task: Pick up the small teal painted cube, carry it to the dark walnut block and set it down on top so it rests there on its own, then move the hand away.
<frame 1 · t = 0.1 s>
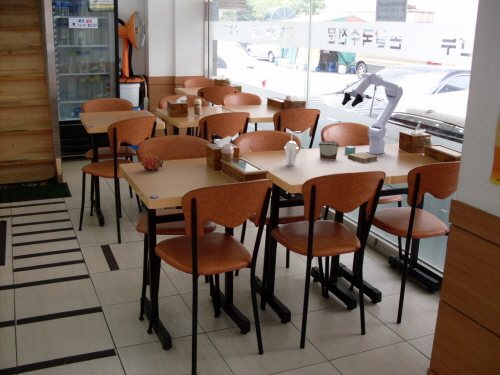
hand: (347, 105, 316), 32 cm above the table, tool tilted 50°, fingers open, 7 cm apart
dragon fruit: (152, 170, 289), on the table
walnut block: (362, 160, 323), on the table
food container: (327, 158, 324), on the table
cup with straw: (290, 165, 306), on the table
teal cube: (349, 154, 336), on the table
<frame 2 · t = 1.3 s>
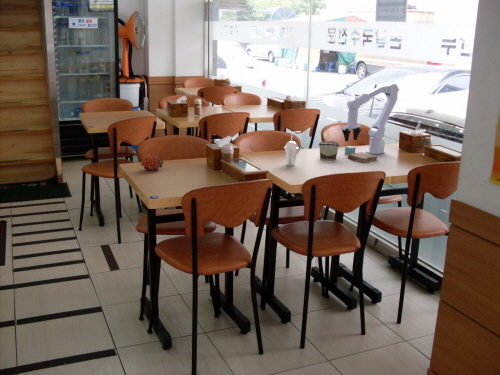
hand: (350, 140, 334), 8 cm above the table, tool pointing down, fingers open, 7 cm apart
nothing on the table moved.
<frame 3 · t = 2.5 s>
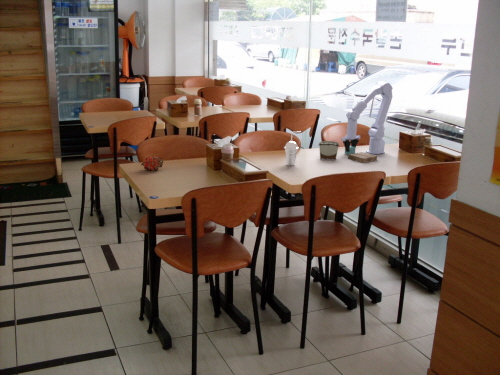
hand: (350, 151, 336), 2 cm above the table, tool pointing down, fingers closed on teal cube, 4 cm apart
teal cube: (349, 153, 336), on the table, touching gripper
everything else where it was.
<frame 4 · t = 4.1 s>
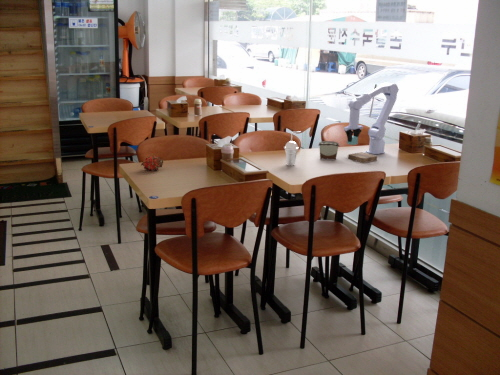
hand: (352, 141, 332), 8 cm above the table, tool pointing down, fingers closed on teal cube, 4 cm apart
teal cube: (352, 143, 333), point 7 cm above the table, touching gripper
everything else where it was.
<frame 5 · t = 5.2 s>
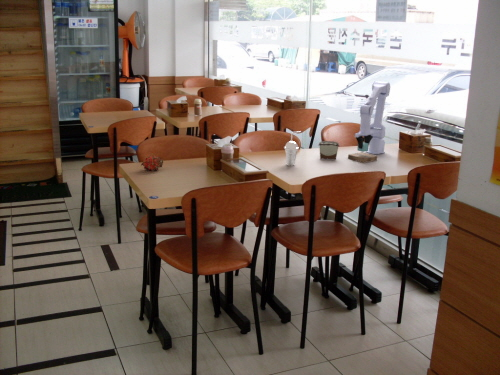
hand: (363, 148, 321), 7 cm above the table, tool pointing down, fingers closed on teal cube, 4 cm apart
teal cube: (362, 150, 322), point 5 cm above the table, touching gripper
everything else where it was.
when the fingers open (6 cm above the table, at t = 5.8 s): teal cube drops 2 cm, resting on walnut block.
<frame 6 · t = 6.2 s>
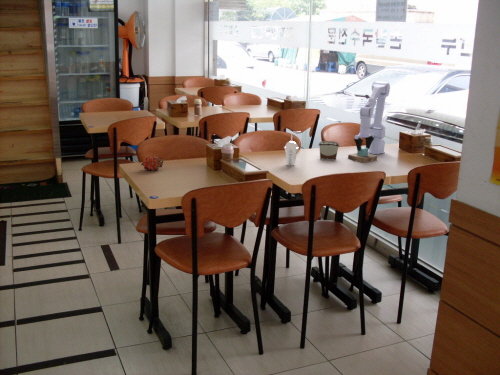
hand: (363, 149, 322), 6 cm above the table, tool pointing down, fingers open, 7 cm apart
walnut block: (362, 160, 323), on the table, touching teal cube
teal cube: (362, 155, 323), point 2 cm above the table, touching walnut block
everything else where it was.
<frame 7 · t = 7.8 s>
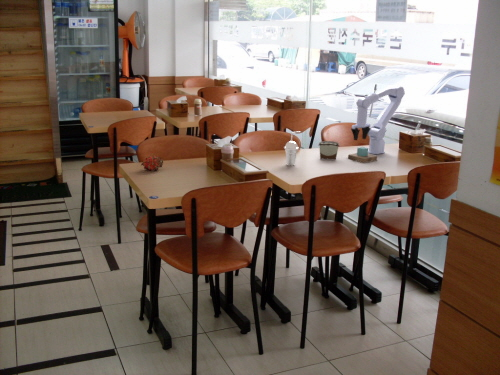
hand: (359, 139, 333), 9 cm above the table, tool pointing down, fingers open, 7 cm apart
nothing on the table moved.
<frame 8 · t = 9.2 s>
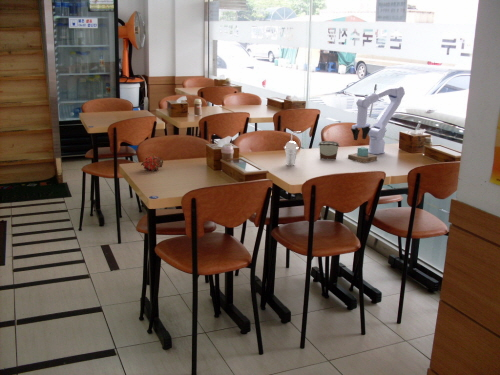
hand: (359, 139, 333), 9 cm above the table, tool pointing down, fingers open, 7 cm apart
nothing on the table moved.
at the end: teal cube 0.1 cm off-centre on the walnut block, point 3.0 cm above the walnut block's base; teal cube tilted 0°; the gripper is holding nothing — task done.
